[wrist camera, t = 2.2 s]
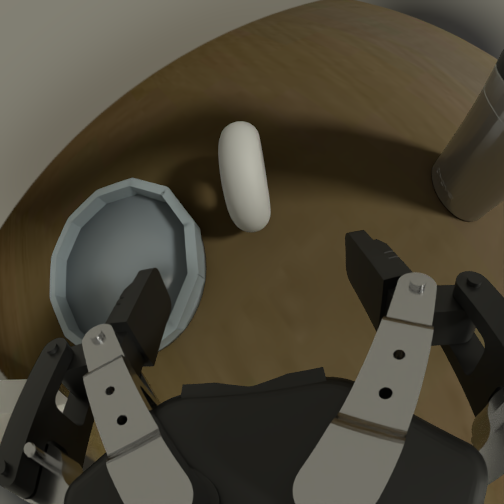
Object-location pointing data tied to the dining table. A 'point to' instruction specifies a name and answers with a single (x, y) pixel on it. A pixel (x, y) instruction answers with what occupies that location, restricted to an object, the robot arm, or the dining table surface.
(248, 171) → the donut
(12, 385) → the milk
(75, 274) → the bowl
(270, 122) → the dining table surface
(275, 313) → the dining table surface
